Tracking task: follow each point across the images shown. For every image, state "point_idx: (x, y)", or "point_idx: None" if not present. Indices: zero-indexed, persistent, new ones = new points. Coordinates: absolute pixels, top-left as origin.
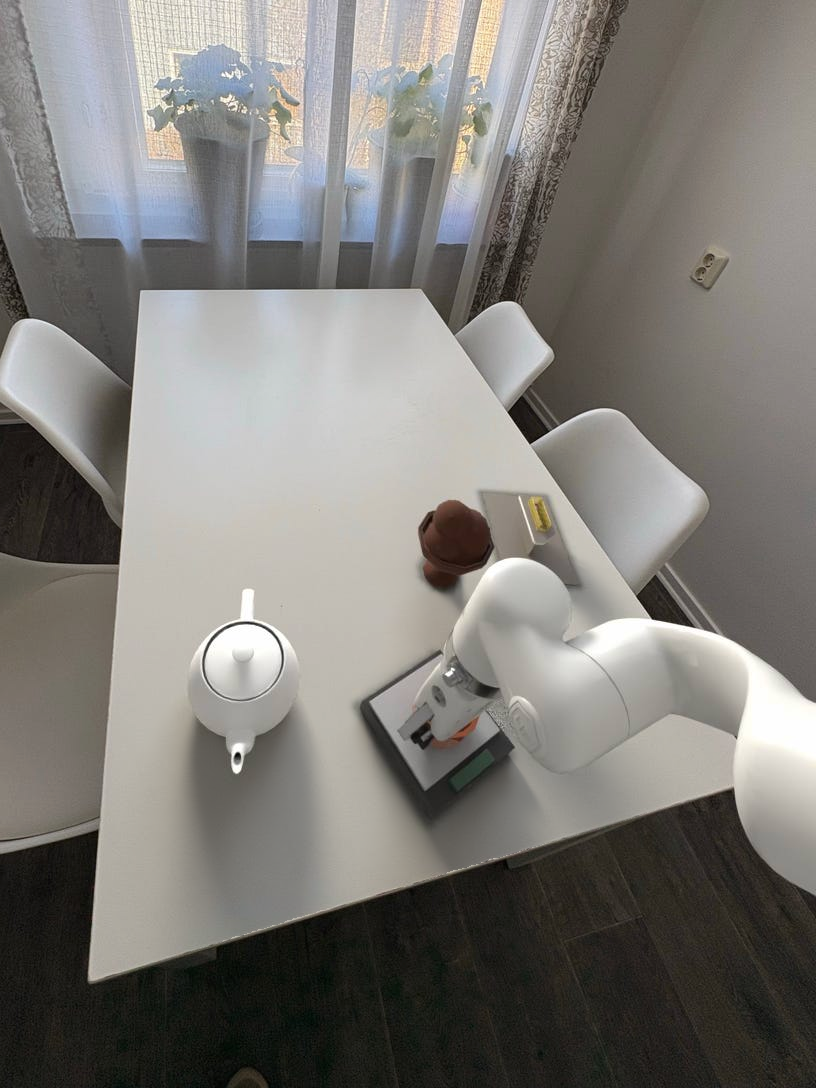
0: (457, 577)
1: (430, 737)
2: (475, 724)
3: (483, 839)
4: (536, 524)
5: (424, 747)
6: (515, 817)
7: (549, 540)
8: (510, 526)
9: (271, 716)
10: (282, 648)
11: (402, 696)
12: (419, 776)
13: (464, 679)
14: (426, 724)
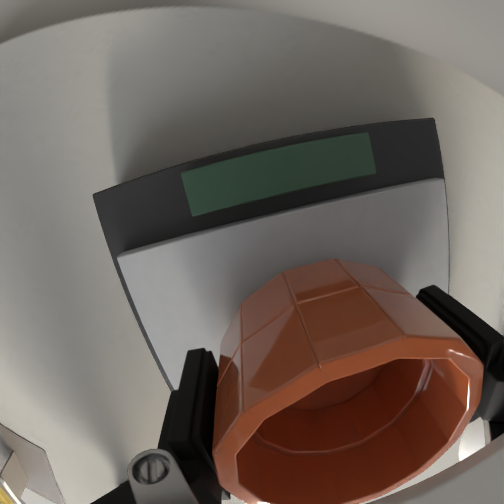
0: (120, 484)
1: (500, 346)
2: (300, 383)
3: (295, 35)
4: (1, 492)
5: (447, 295)
6: (184, 47)
7: None
8: (35, 479)
9: None
10: (459, 446)
11: None
12: (443, 216)
13: None
14: (500, 397)
